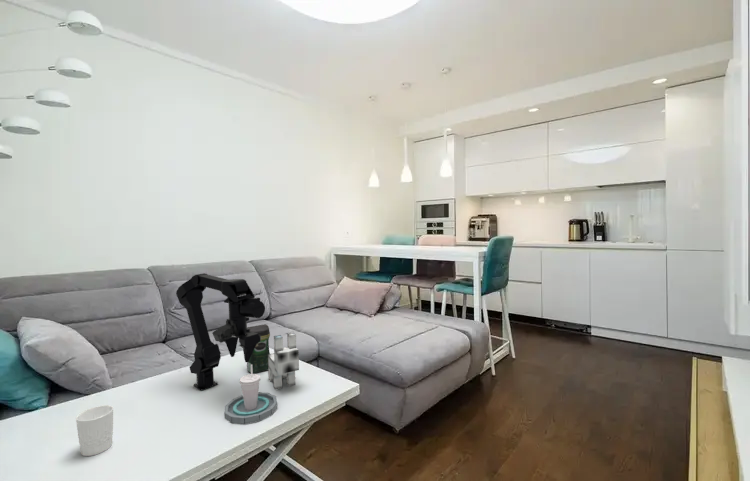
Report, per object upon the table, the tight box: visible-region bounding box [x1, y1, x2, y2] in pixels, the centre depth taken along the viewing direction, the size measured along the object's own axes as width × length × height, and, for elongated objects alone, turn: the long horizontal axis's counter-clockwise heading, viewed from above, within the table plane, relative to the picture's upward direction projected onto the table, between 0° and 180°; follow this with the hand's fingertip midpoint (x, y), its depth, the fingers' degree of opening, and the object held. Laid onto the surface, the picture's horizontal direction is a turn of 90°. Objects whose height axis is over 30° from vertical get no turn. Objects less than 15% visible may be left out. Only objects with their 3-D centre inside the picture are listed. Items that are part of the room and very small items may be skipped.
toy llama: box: [267, 332, 300, 391], centre depth 132 cm, size 8×18×20 cm, turn 31°
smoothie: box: [239, 364, 261, 410], centre depth 114 cm, size 6×6×14 cm
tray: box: [223, 391, 278, 425], centre depth 114 cm, size 16×16×2 cm
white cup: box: [75, 405, 114, 457], centre depth 95 cm, size 8×8×10 cm
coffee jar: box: [246, 323, 271, 374], centre depth 146 cm, size 10×8×19 cm
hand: (239, 359), depth 123 cm, fingers open, 9 cm apart
